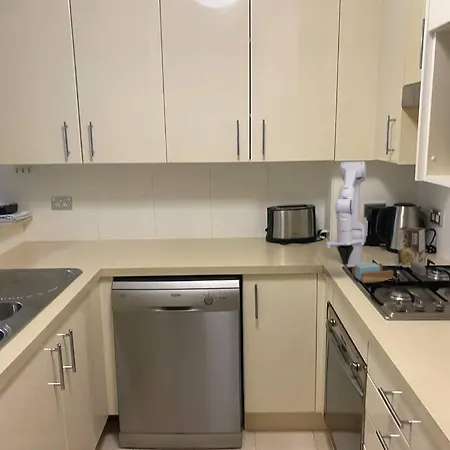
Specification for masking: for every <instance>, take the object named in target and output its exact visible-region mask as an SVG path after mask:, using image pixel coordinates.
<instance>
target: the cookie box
mask: <svg viewBox="0 0 450 450" xmlns="http://www.w3.org/2000/svg"><path fill="white" fill-rule="evenodd" d="M397 234H398V235H397V240H398V241H397V245H398V246H397V248H398V250H397V259H398V260H397V261H398V262H397V263H398V265H397V266H398V267H400V266H402V268H407V267H409V268H408V269H411V263H417V264H419V265H421V266H423V267H426V228H425V227H416V226H415V227H414V226H405V225H404V226H402V227H401V228H398V229H397Z"/></svg>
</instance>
